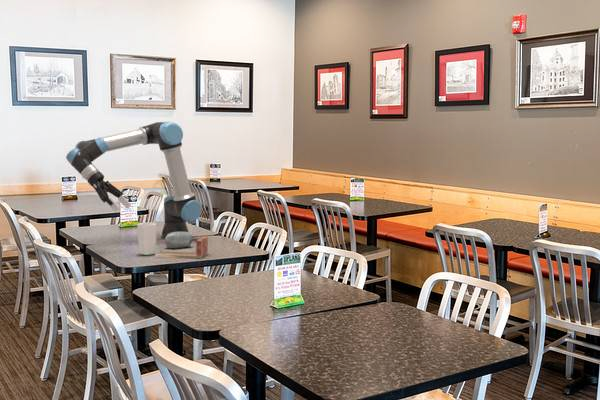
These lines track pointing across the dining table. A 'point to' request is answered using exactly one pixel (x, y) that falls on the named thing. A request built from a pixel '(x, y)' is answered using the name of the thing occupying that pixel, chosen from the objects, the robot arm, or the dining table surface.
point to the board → (198, 254)
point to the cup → (146, 238)
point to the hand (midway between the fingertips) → (123, 208)
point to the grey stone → (178, 240)
